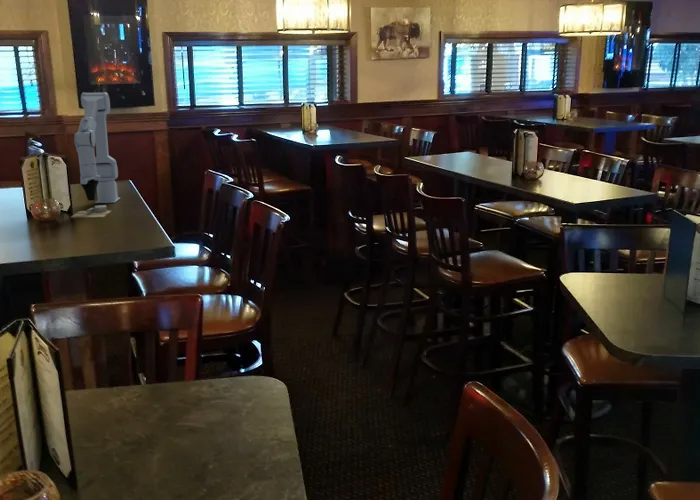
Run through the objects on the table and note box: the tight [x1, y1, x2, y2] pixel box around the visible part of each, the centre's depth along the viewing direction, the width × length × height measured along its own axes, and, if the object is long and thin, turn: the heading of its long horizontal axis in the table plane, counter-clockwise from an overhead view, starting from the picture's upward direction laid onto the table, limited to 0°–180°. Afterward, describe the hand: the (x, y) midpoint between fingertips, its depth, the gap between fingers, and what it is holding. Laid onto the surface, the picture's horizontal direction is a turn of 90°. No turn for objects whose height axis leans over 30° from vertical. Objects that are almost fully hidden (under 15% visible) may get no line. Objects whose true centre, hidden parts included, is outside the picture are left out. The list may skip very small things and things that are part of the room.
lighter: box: [85, 204, 108, 215], centre depth 261 cm, size 7×2×8 cm
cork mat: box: [70, 209, 113, 219], centre depth 258 cm, size 11×12×1 cm
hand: (91, 200), depth 259 cm, fingers closed
